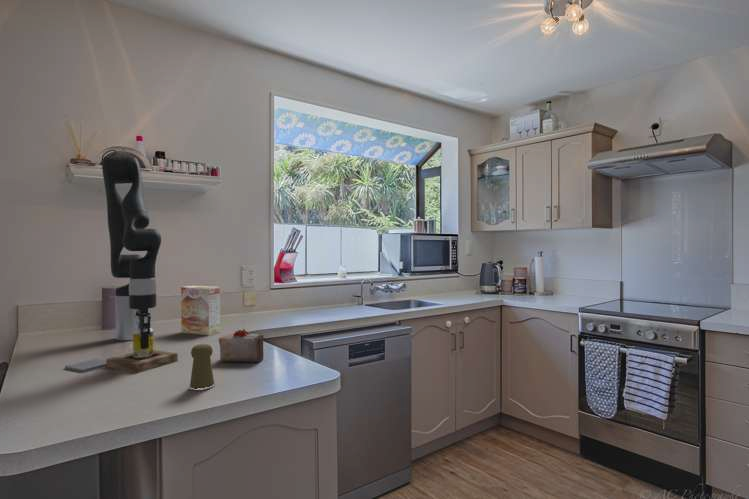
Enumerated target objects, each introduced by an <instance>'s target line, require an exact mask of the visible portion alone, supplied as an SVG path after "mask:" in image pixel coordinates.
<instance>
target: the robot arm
mask: <svg viewBox="0 0 749 499" xmlns="http://www.w3.org/2000/svg"><path fill="white" fill-rule="evenodd" d="M101 170H102V178H103V182H104V183H103V184H104V190H105V197H106V207H107V208H106V209H107V210H106V211H107V216H106V217H107V225H108V226H107V227H108V233H109V244H110V271H111V272H110V273H111V275H112V277H113V278H116V279H129V283H127V284H125V285H123V286H122V285H121V286H119V287H116V289H115V293H114V294H115V340H116V341H133V331H134V330H136V324H138V330H140V348H141V349H146V348H148V347H149V335H150V334H151V332H150V328H151V318H152V314H151V312H149V309H153V308H155V307H157V282H156V262H157V256H158V254H159V251H160V247H161V244H162V236H161V233H160V232H159V231H158V229H155V228H147V227H148V226H149V225H150V217H149V213H148V210H147V206H146V202H145V196H144V195H145V193H144V186H143V185H144V184H143V178H142V177H143V176H142V172H141V167H140V163H139V161H138V159H137V158H136V157H135V156H130V155H128V156H127V155H125V156H124V155H122V156H121V155H118V156H117V155H115V156H114V155H111V156H110V155H109V156H105V157H103V159H102V162H101ZM119 184H120V185H121V184H122V185H123V184H131V187H130V189H129V191H128V192H127V193H126V194H125V196H122V195H121V193H120V192H119V190H118V189H117V186H116V185H119ZM123 249H126V250H127V251H129V252H146V253H145V255H144V256H143V257H142V256H141V254H135V253H134V254H122V251H123ZM140 325H141V326H140ZM143 329H147V331H145V332H143Z"/></svg>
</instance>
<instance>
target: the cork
mask: <svg viewBox="0 0 749 499" xmlns="http://www.w3.org/2000/svg"><path fill="white" fill-rule="evenodd" d="M190 354H191V357H192V358H193V359H192V368H191V375H190V383H189V388H190V387H191V388H194V389H197V388H205V387H210V386H212V385H213V384H214V385H215V381H214V380H215V379H214V373H213V366H212V360H211V359H212V358H211V357H212V355H213V347H212V345H210V344H208V343H207V344H204V343H203V344H202V343H201V344H196V345H194V346H193V347H192V348H191V350H190Z"/></svg>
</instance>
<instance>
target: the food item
mask: <svg viewBox="0 0 749 499" xmlns="http://www.w3.org/2000/svg"><path fill="white" fill-rule="evenodd" d="M218 344H219V350H220V351H219V352H220V353H219V355H220V358H219V362H220V363H260V362H261V361H262V360H263V359H264V356H265V355H264V334H261V333H249V332H248V331H247V330H245V328H243V329H242V330H241V329H239V330H237V331H236V330H235V331H234V333H233V334H232V333H230V334H223V335H221V336H220V337H219V338H218ZM262 358H263V359H262ZM261 359H262V360H261ZM259 361H260V362H259Z"/></svg>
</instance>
